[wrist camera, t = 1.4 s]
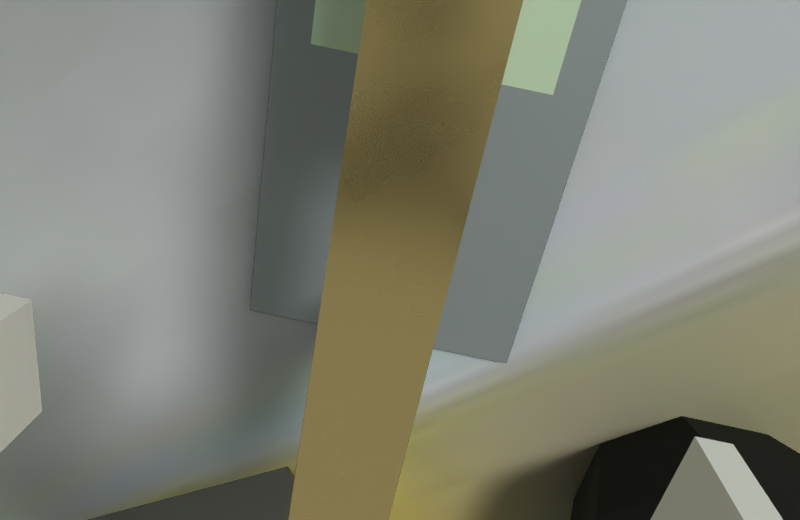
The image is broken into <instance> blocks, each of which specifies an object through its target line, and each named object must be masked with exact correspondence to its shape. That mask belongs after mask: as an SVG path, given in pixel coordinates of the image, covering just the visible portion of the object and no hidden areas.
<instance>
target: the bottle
mask: <svg viewBox="0 0 800 520" xmlns="http://www.w3.org/2000/svg"><path fill="white" fill-rule="evenodd" d="M695 436H696V437H701V438H705V439H710V440H715V441H720V442H725V443H730V444H733V445H734V446H735V448H736V449H737V451H738V452H739V454H740V455H741V457H742V458H743V460H744V461H745V463H746V464H747V466H748V467H749V469H750V470H751V472H752V473H753V475H754V476H755V478H756V479H757V481H758V482H759V484H760V485H761V487H762V488H763V490H764V491H765V493H766V494H767V496H768V497H769V499H770V501H771V502H772V504H773V505H774V507H775V508H776V510H777V511H778V513H779V514H780V516H781V517H782V519H783V520H800V454H799V453H797V452H796V451H794V450H792V449H791V448H789V447H787V446H786V445H784V444H782V443H781V442H779V441H777V440H776V439H774V438H772V437H771V436H769V435H766V434H762V433H757V432H753V431H748V430H743V429H739V428H734V427H730V426H725V425H720V424H716V423H711V422H706V421H702V420H697V419H693V418H688V417H683V416H682V417H679V418H676V419H673V420H670V421H667V422H665V423H662V424H659V425H656V426H653V427H650V428H647V429H645V430H642V431H639V432H636V433H633V434H630V435H627V436H625V437H622V438H619V439H616V440H613V441H610V442H608V443H605V444H602V445H600V446H599V449H598V451H597V453H596V455H595V457H594V459H593V461H592V463H591V465H590V467H589V469H588V471H587V473H586V475H585V477H584V479H583V481H582V483H581V485H580V487H579V490H578V492H577V494H576V496H575V498H574V501H573V508H572V514H571V520H651V518H652V516H653V514H654V512H655V510H656V508H657V506H658V505H659V503H660V501H661V499H662V497H663V495H664V493H665V491H666V490H667V488H668V486H669V484H670V482H671V480H672V478H673V476H674V475H675V473H676V471H677V469H678V467H679V465H680V463H681V462H682V460H683V458H684V456H685V454H686V452H687V450H688V448H689V447H690V445H691V443H692V441H693V439H694V437H695Z"/></svg>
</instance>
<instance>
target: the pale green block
mask: <svg viewBox="0 0 800 520" xmlns="http://www.w3.org/2000/svg"><path fill="white" fill-rule="evenodd" d="M580 3H581V0H523V3H522V7H521V11H520V15H519V19H518V23H517V27H516V30H515V34H514V38H513V42H512V46H511V50H510V53H509V57H508V61H507V65H506V69H505V73H504V77H503V80H502V84H503V85H507V86H512V87H517V88H522V89H526V90H531V91H536V92H540V93H545V94H550V95H553V93H554V90H555V87H556V83H557V80H558V77H559V73H560V70H561V67H562V63H563V60H564V57H565V53H566V50H567V47H568V43H569V40H570V37H571V33H572V30H573V27H574V23H575V20H576V17H577V13H578V10H579V7H580ZM365 6H366V0H316V2H315V10H314V19H313V28H312V37H311V44H313V45H318V46H323V47H328V48H332V49H337V50H342V51H347V52H351V53H356V54H358V53H359V46H360V40H361V33H362V26H363V20H364V13H365Z"/></svg>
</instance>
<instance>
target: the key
mask: <svg viewBox="0 0 800 520" xmlns="http://www.w3.org/2000/svg"><path fill="white" fill-rule="evenodd" d="M522 3H523V0H366V6H365V13H364V20H363V26H362V33H361V40H360V46H359V53H358V60H357V66H356V73H355V80H354V86H353V93H352V100H351V106H350V113H349V120H348V126H347V133H346V140H345V146H344V153H343V160H342V166H341V173H340V180H339V186H338V193H337V200H336V206H335V213H334V220H333V226H332V233H331V240H330V246H329V253H328V260H327V266H326V273H325V280H324V286H323V293H322V300H321V306H320V313H319V320H318V326H317V333H316V340H315V346H314V353H313V360H312V366H311V373H310V380H309V386H308V393H307V399H306V406H305V413H304V419H303V426H302V433H301V439H300V446H299V453H298V459H297V466H296V473H295V479H294V486H293V493H292V499H291V506H290V513H289V519H288V520H388V519H389V515H390V511H391V507H392V504H393V500H394V496H395V492H396V488H397V484H398V481H399V477H400V473H401V469H402V465H403V461H404V457H405V454H406V450H407V446H408V442H409V438H410V434H411V431H412V427H413V423H414V419H415V415H416V411H417V407H418V404H419V400H420V396H421V392H422V388H423V384H424V381H425V377H426V373H427V369H428V365H429V361H430V357H431V354H432V350H433V346H434V342H435V338H436V334H437V330H438V327H439V323H440V319H441V315H442V311H443V307H444V304H445V300H446V296H447V292H448V288H449V284H450V280H451V277H452V273H453V269H454V265H455V261H456V257H457V254H458V250H459V246H460V242H461V238H462V234H463V230H464V227H465V223H466V219H467V215H468V211H469V207H470V204H471V200H472V196H473V192H474V188H475V184H476V180H477V177H478V173H479V169H480V165H481V161H482V157H483V153H484V150H485V146H486V142H487V138H488V134H489V130H490V127H491V123H492V119H493V115H494V111H495V107H496V103H497V100H498V96H499V92H500V88H501V84H502V80H503V77H504V73H505V69H506V65H507V61H508V57H509V53H510V50H511V46H512V42H513V38H514V34H515V30H516V27H517V23H518V19H519V15H520V11H521V7H522Z"/></svg>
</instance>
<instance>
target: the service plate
mask: <svg viewBox="0 0 800 520" xmlns="http://www.w3.org/2000/svg"><path fill="white" fill-rule="evenodd" d="M315 2H316V0H277V8H276V19H275V30H274V42H273V53H272V65H271V76H270V87H269V99H268V110H267V122H266V133H265V145H264V156H263V167H262V179H261V190H260V202H259V213H258V224H257V236H256V247H255V259H254V270H253V282H252V293H251V304H250V310H252V311H257V312H262V313H266V314H271V315H276V316H281V317H286V318H290V319H295V320H300V321H305V322H310V323H314V324H318V320H319V313H320V306H321V300H322V293H323V286H324V280H325V273H326V266H327V260H328V253H329V246H330V240H331V233H332V226H333V220H334V213H335V206H336V200H337V193H338V186H339V180H340V173H341V166H342V160H343V153H344V146H345V140H346V133H347V126H348V120H349V113H350V106H351V100H352V93H353V86H354V80H355V73H356V66H357V60H358V54H356V53H351V52H347V51H342V50H337V49H332V48H328V47H323V46H318V45H313V44H311V37H312V28H313V19H314V10H315ZM626 3H627V0H581V3H580V7H579V10H578V13H577V17H576V20H575V23H574V27H573V30H572V33H571V37H570V40H569V43H568V47H567V50H566V53H565V57H564V60H563V63H562V67H561V70H560V73H559V77H558V80H557V83H556V87H555V90H554V93H553V95H550V94H545V93H540V92H536V91H531V90H526V89H522V88H517V87H512V86H507V85H503V84H501V88H500V92H499V96H498V100H497V103H496V107H495V111H494V115H493V119H492V123H491V127H490V130H489V134H488V138H487V142H486V146H485V150H484V153H483V157H482V161H481V165H480V169H479V173H478V177H477V180H476V184H475V188H474V192H473V196H472V200H471V204H470V207H469V211H468V215H467V219H466V223H465V227H464V230H463V234H462V238H461V242H460V246H459V250H458V254H457V257H456V261H455V265H454V269H453V273H452V277H451V280H450V284H449V288H448V292H447V296H446V300H445V304H444V307H443V311H442V315H441V319H440V323H439V327H438V330H437V334H436V338H435V342H434V346H433V348H434V349H439V350H444V351H449V352H454V353H458V354H463V355H468V356H473V357H478V358H482V359H487V360H492V361H497V362H502V363H507V360H508V357H509V354H510V351H511V348H512V345H513V342H514V339H515V336H516V333H517V330H518V327H519V324H520V321H521V318H522V315H523V312H524V309H525V306H526V303H527V300H528V297H529V294H530V291H531V288H532V285H533V282H534V279H535V276H536V273H537V270H538V267H539V264H540V261H541V258H542V255H543V252H544V249H545V246H546V243H547V240H548V237H549V234H550V231H551V228H552V225H553V222H554V219H555V216H556V213H557V210H558V207H559V204H560V201H561V198H562V195H563V192H564V189H565V186H566V183H567V180H568V177H569V174H570V171H571V168H572V165H573V162H574V159H575V156H576V153H577V150H578V147H579V144H580V141H581V138H582V135H583V132H584V129H585V126H586V123H587V120H588V117H589V114H590V111H591V108H592V105H593V102H594V99H595V96H596V93H597V90H598V87H599V84H600V81H601V78H602V75H603V72H604V69H605V66H606V63H607V60H608V57H609V54H610V51H611V48H612V45H613V42H614V39H615V36H616V33H617V30H618V27H619V24H620V21H621V18H622V15H623V12H624V9H625V6H626Z"/></svg>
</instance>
